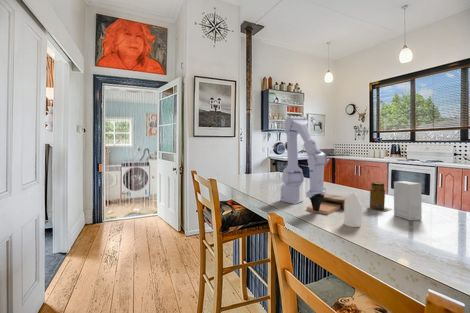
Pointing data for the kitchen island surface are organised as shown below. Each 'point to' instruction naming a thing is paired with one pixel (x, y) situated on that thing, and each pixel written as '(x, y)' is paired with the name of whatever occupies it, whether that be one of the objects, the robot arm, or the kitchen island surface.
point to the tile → (325, 208)
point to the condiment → (377, 197)
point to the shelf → (334, 199)
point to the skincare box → (407, 200)
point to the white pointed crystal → (352, 211)
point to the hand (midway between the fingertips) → (316, 210)
